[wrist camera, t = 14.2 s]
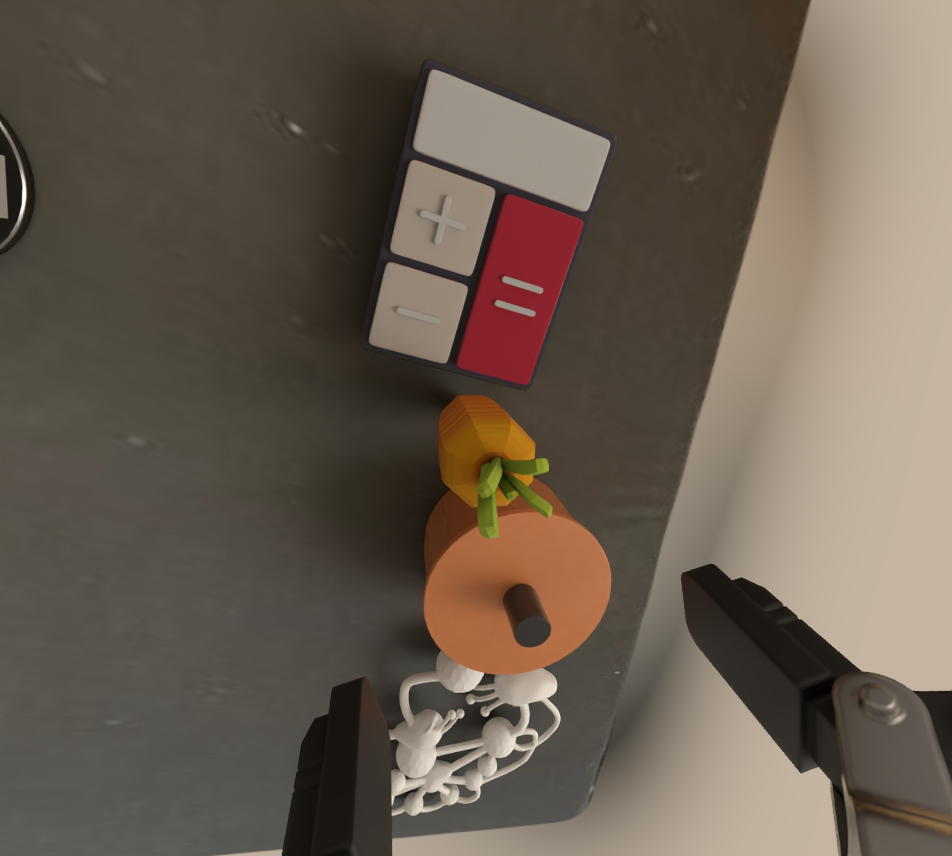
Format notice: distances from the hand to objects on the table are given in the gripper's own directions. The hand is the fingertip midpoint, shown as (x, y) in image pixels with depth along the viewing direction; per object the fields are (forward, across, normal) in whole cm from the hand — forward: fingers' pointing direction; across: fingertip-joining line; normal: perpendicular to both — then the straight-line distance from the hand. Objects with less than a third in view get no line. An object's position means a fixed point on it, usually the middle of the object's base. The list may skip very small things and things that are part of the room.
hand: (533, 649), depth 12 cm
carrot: (+23, -1, +1) cm, 23 cm away
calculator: (+23, -5, -9) cm, 25 cm away
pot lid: (+16, -1, +12) cm, 20 cm away
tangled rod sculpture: (+23, +6, +28) cm, 37 cm away
